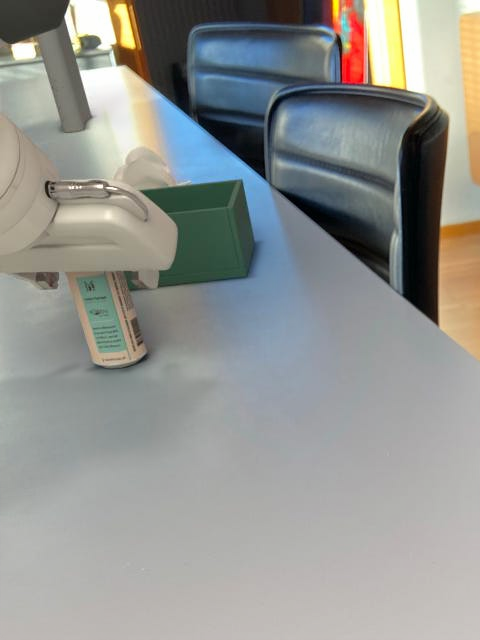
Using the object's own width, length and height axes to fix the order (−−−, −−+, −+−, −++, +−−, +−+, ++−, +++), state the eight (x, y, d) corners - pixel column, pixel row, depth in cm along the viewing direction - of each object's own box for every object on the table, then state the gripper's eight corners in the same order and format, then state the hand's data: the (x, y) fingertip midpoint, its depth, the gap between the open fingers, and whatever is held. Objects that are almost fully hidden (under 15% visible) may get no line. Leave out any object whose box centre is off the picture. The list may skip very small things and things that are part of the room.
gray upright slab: (69, 118, 205) (27, -29, 190) (92, 115, 206) (52, -32, 191) (58, 133, 191) (12, -25, 176) (83, 130, 192) (39, -27, 177)
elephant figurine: (105, 227, 130) (84, 152, 125) (200, 214, 132) (183, 139, 126) (100, 246, 122) (78, 167, 117) (201, 232, 124) (183, 153, 119)
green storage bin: (121, 290, 107) (102, 221, 103) (141, 255, 118) (124, 191, 114) (247, 276, 108) (232, 207, 104) (255, 243, 118) (242, 178, 114)
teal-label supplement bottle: (135, 346, 93) (95, 208, 86) (157, 359, 90) (118, 217, 83) (85, 362, 91) (40, 221, 83) (106, 375, 87) (61, 230, 80)
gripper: (128, 141, 71) (217, 244, 84) (-120, 152, 75) (2, 248, 89) (115, 225, 70) (208, 315, 84) (-135, 231, 75) (-9, 317, 88)
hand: (100, 281), depth 86 cm, fingers open, 8 cm apart
